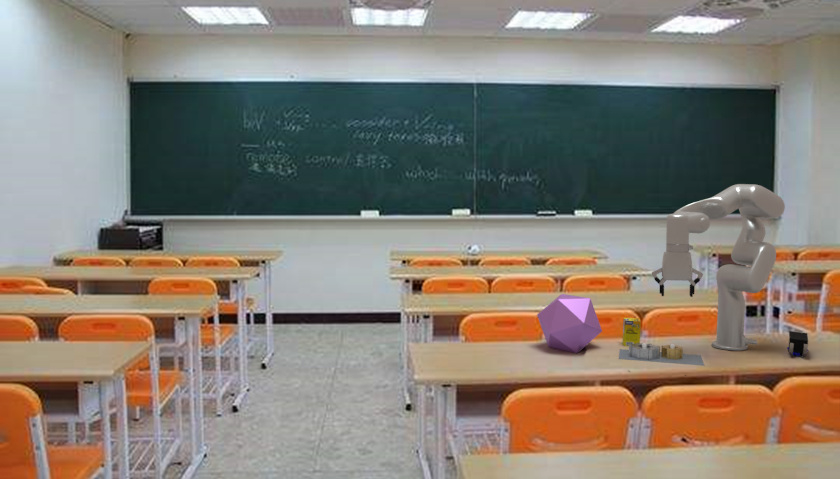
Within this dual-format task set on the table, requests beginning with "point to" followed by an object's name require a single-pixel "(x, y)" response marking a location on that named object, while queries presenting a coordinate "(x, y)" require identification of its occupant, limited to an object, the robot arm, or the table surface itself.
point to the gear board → (685, 359)
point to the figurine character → (798, 343)
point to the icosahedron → (569, 323)
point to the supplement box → (631, 331)
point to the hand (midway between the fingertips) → (676, 295)
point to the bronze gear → (672, 352)
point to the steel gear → (644, 351)
